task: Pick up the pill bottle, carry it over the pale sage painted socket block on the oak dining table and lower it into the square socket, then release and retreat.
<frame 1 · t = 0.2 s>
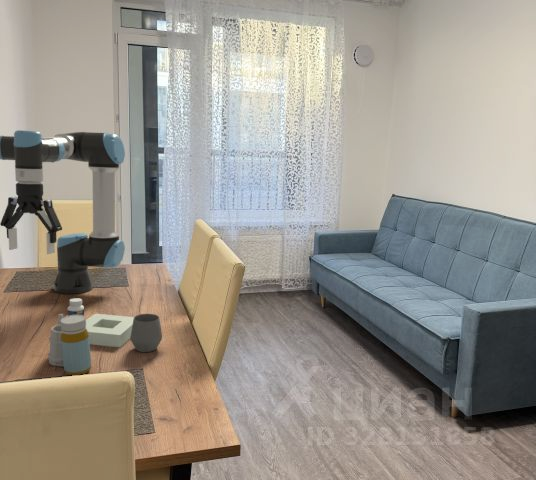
hand: (31, 251, 155), 27 cm above the table, fingers open, 13 cm apart
bottle: (78, 370, 136), on the table
socket block: (107, 335, 162), on the table
mug: (61, 358, 143), on the table
pill bottle: (76, 325, 170), on the table
cup: (146, 349, 153), on the table
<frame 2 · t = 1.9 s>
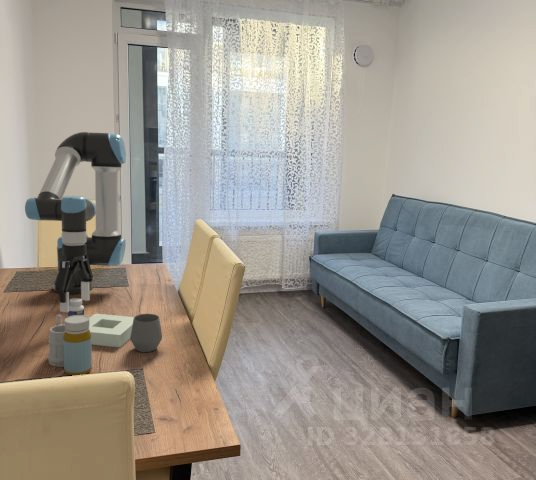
hand: (75, 305, 168), 7 cm above the table, fingers open, 13 cm apart
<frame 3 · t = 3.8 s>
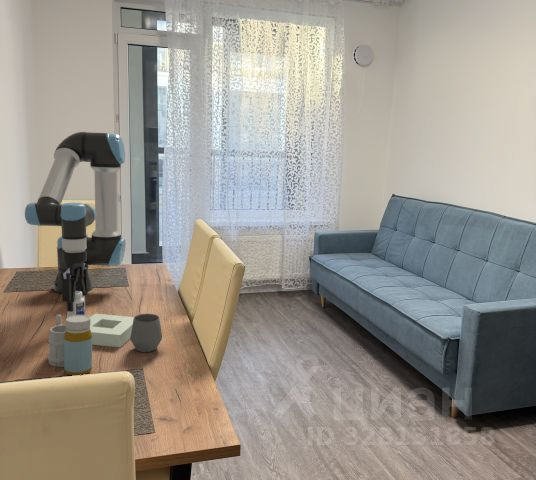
hand: (76, 316, 170), 3 cm above the table, fingers closed on pill bottle, 5 cm apart
pill bottle: (76, 317, 170), point 2 cm above the table, touching gripper
everything else where it was.
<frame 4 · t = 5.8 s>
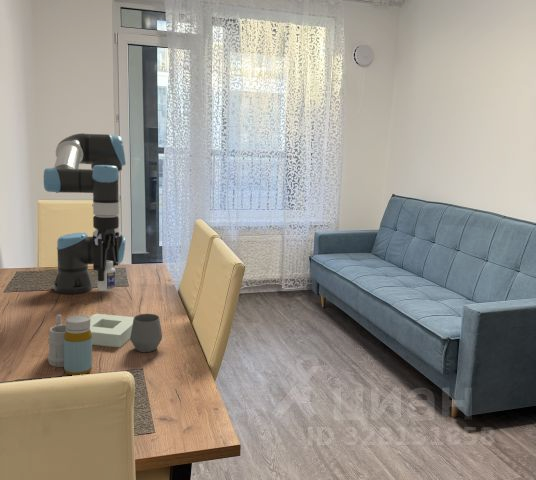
hand: (106, 287, 159), 16 cm above the table, fingers closed on pill bottle, 5 cm apart
pill bottle: (106, 289, 159), point 16 cm above the table, touching gripper
everything else where it was.
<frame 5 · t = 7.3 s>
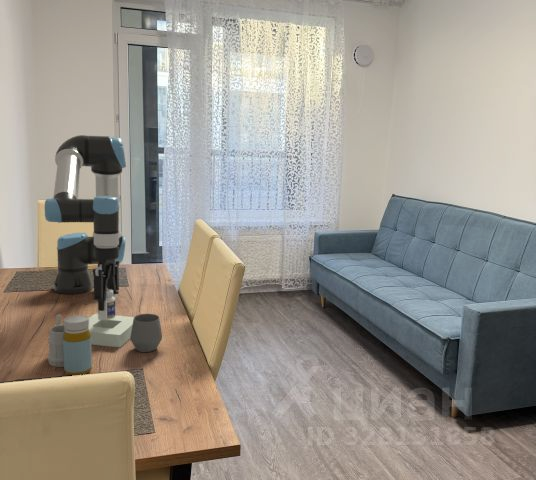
hand: (107, 316, 161), 6 cm above the table, fingers closed on pill bottle, 5 cm apart
pill bottle: (106, 317, 161), point 6 cm above the table, touching gripper
everything else where it was.
when the fingers open (5 cm above the table, at t = 8.7 s): pill bottle drops 4 cm, resting on socket block.
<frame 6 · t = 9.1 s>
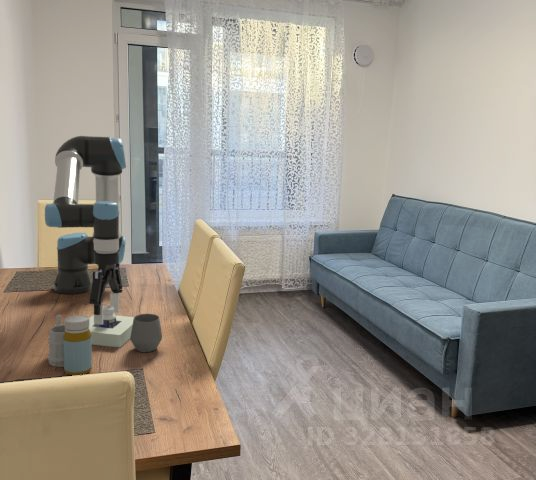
hand: (107, 317, 161), 6 cm above the table, fingers open, 11 cm apart
pill bottle: (107, 334, 162), resting on socket block
everything else where it was.
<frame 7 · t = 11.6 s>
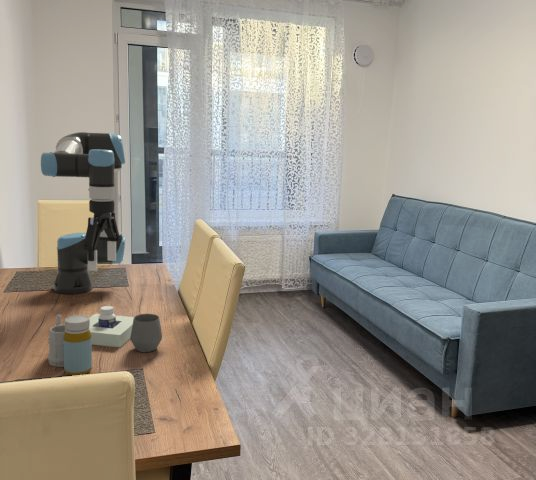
hand: (102, 265, 161), 23 cm above the table, fingers open, 13 cm apart
nothing on the table moved.
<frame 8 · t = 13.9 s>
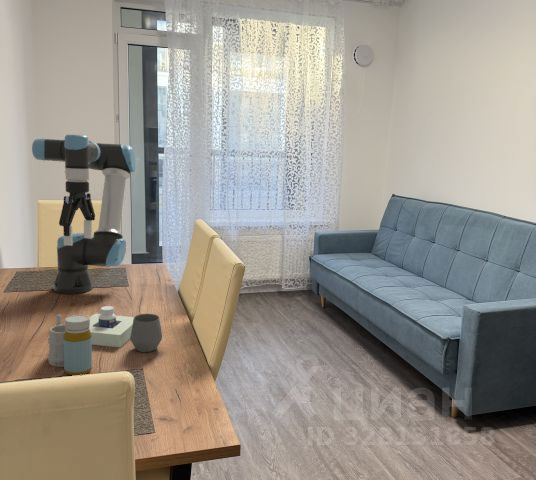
hand: (78, 241, 175), 27 cm above the table, fingers open, 13 cm apart
nothing on the table moved.
at the end: pill bottle 0.3 cm off-centre on the socket block, point 0.1 cm above the socket block's base; pill bottle tilted 0°; the gripper is holding nothing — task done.
